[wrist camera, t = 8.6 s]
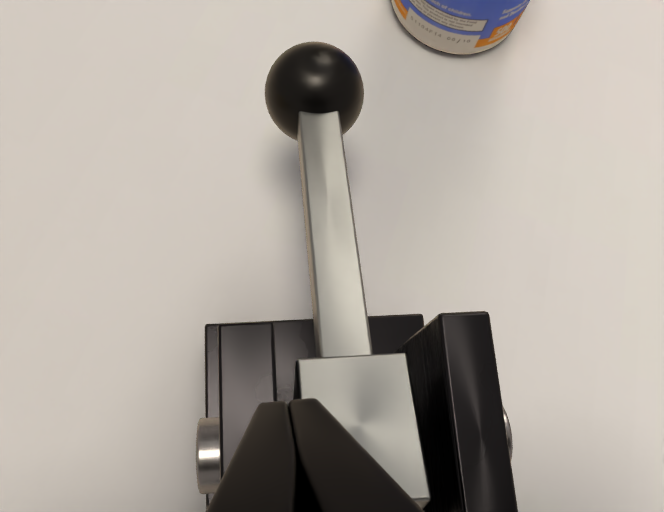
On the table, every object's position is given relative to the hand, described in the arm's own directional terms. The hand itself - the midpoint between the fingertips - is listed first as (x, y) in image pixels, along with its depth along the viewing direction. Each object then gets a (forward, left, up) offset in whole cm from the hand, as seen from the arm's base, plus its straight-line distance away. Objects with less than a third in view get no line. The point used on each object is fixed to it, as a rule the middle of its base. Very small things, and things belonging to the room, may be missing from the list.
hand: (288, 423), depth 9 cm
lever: (+2, -4, -6) cm, 8 cm away
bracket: (-1, -1, -11) cm, 11 cm away
